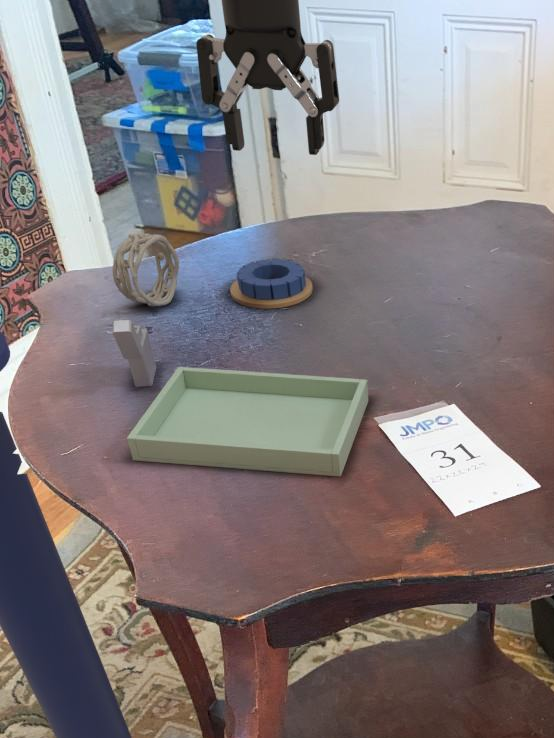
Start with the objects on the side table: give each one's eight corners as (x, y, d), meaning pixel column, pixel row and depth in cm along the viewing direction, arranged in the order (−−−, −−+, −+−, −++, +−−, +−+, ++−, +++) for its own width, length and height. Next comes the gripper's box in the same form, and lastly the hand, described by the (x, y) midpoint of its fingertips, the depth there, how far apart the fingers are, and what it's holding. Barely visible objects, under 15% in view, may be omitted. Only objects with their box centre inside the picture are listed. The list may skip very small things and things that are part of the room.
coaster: (220, 306, 102) (219, 301, 101) (244, 272, 109) (243, 268, 108) (301, 311, 101) (301, 306, 100) (320, 277, 108) (320, 272, 108)
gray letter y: (139, 367, 90) (120, 294, 85) (156, 366, 91) (138, 293, 85) (131, 401, 85) (110, 326, 80) (148, 400, 86) (129, 325, 80)
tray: (132, 460, 78) (126, 438, 76) (183, 387, 87) (178, 366, 86) (340, 476, 76) (338, 454, 75) (368, 400, 86) (367, 379, 84)
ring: (231, 298, 102) (228, 283, 101) (250, 271, 108) (248, 257, 106) (296, 302, 101) (294, 287, 100) (312, 275, 107) (310, 260, 106)
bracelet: (189, 292, 104) (175, 225, 99) (148, 318, 99) (131, 249, 94) (162, 286, 105) (147, 220, 100) (120, 312, 100) (102, 243, 95)
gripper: (337, -34, 85) (347, 145, 96) (198, -40, 86) (224, 138, 97) (319, -23, 79) (332, 165, 90) (171, -30, 80) (202, 157, 91)
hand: (276, 150), depth 93 cm, fingers open, 8 cm apart
